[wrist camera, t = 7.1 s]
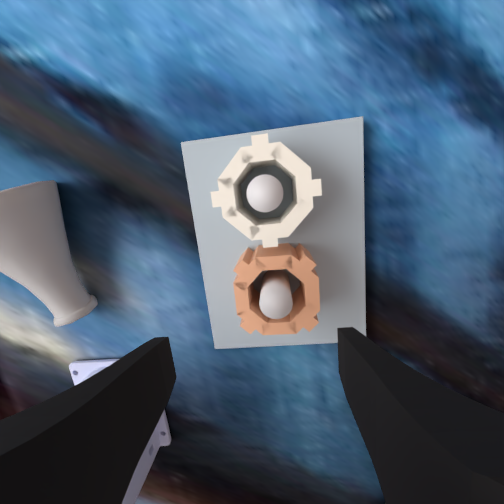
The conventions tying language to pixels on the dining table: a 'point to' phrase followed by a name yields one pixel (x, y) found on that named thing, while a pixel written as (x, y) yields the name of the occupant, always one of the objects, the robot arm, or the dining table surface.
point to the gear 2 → (302, 298)
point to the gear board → (306, 233)
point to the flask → (41, 250)
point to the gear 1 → (238, 172)
